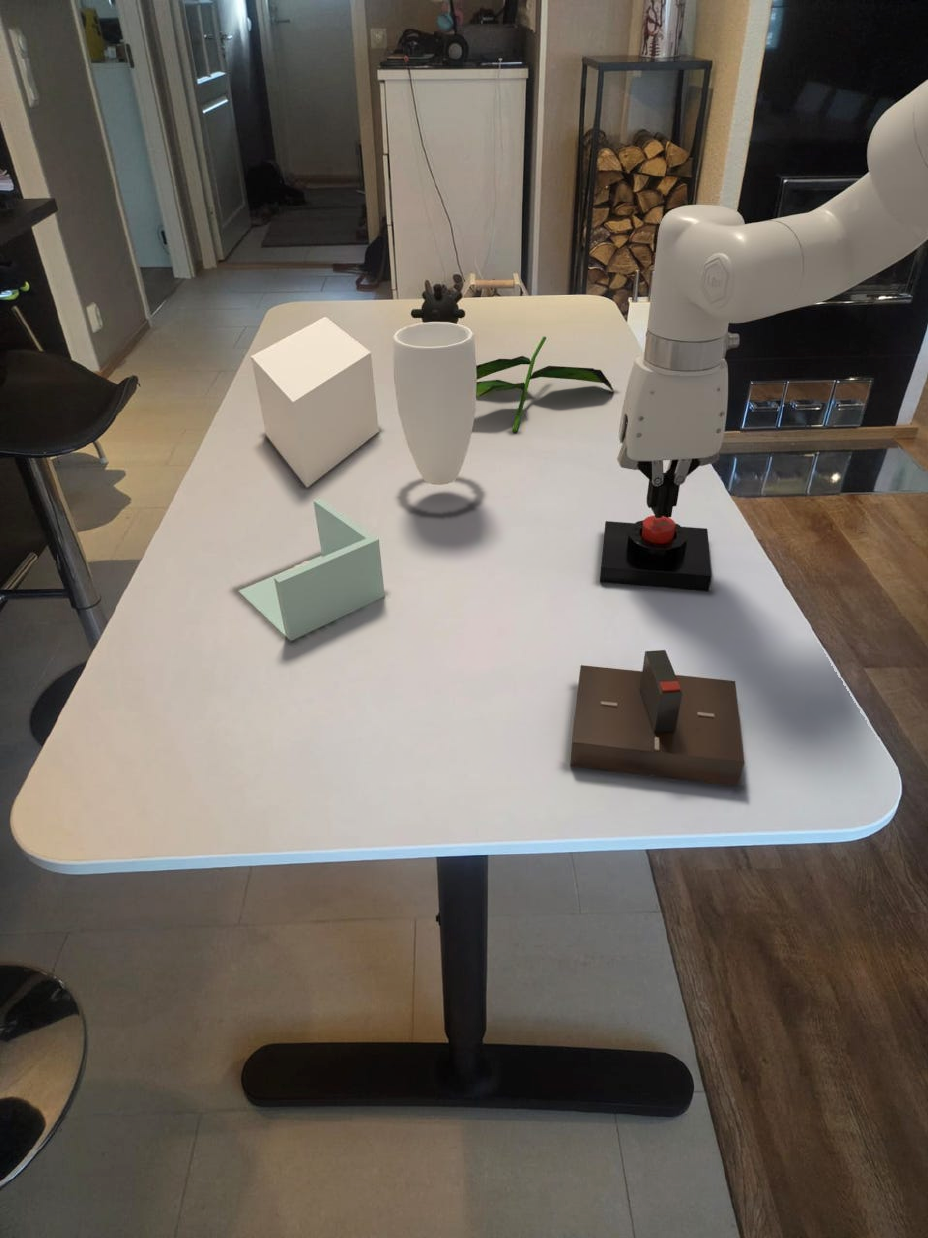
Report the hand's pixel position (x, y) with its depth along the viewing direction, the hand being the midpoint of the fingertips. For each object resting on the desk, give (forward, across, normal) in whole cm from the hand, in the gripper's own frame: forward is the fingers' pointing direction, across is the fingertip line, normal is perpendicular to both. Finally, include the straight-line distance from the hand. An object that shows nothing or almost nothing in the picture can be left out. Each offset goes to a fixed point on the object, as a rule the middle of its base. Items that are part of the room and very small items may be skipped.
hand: (660, 511), depth 89 cm
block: (+7, +41, -41) cm, 58 cm away
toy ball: (+8, +21, -83) cm, 86 cm away
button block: (+7, 0, 0) cm, 7 cm away
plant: (+7, +7, -47) cm, 48 cm away
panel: (+7, +7, +27) cm, 29 cm away
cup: (+7, +24, -19) cm, 31 cm away
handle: (+4, +7, +27) cm, 28 cm away
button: (+3, 0, 0) cm, 3 cm away
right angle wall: (+7, +40, +2) cm, 40 cm away
